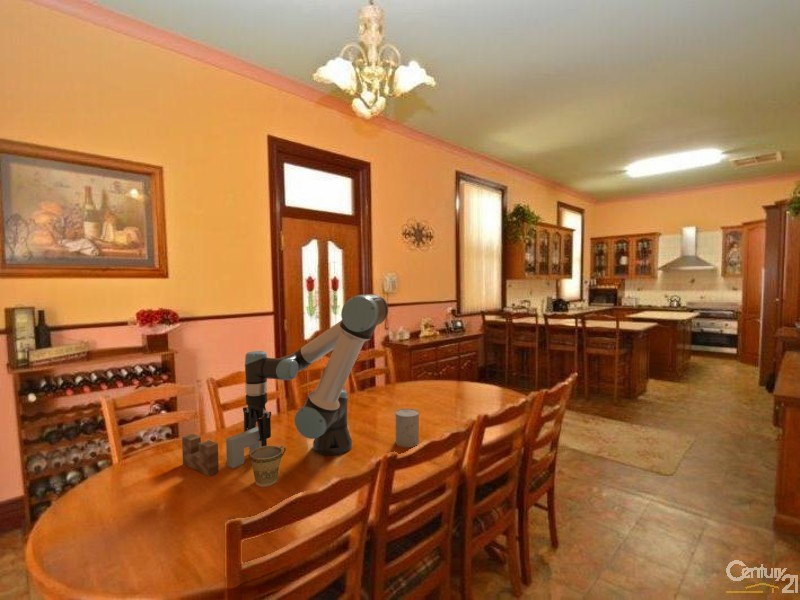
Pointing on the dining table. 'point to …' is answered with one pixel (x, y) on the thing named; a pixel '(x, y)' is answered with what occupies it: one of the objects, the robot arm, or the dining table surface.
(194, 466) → the walnut upright
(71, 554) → the dining table surface
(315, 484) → the dining table surface
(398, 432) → the grey cylinder
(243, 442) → the grey arch block
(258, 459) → the ceramic cup
